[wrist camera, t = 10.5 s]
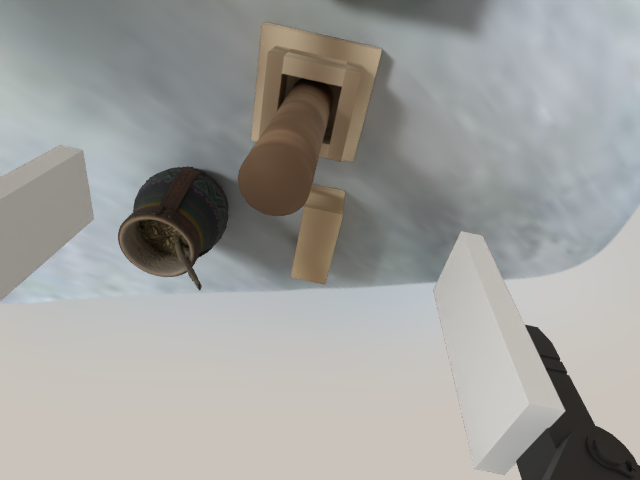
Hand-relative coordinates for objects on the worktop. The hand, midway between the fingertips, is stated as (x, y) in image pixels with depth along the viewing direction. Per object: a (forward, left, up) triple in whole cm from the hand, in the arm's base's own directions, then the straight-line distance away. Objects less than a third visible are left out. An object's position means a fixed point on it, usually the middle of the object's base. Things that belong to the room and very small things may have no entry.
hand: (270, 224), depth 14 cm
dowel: (0, 0, -17) cm, 17 cm away
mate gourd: (-9, -10, -18) cm, 23 cm away
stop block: (+2, -10, -18) cm, 21 cm away
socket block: (0, 0, -18) cm, 18 cm away
